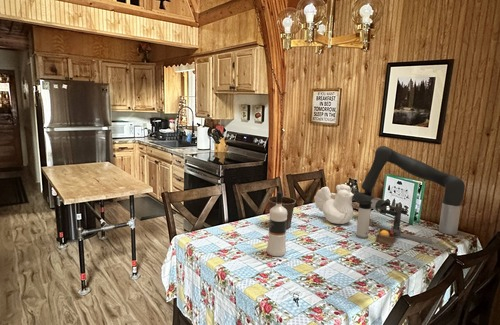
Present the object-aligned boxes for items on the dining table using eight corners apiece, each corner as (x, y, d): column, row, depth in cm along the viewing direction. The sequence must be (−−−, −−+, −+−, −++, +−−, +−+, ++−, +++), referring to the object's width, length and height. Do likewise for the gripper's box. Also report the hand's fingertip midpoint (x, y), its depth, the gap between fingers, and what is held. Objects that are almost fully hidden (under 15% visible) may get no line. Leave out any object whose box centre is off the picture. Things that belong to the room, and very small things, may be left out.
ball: (384, 227, 175) (391, 233, 174) (377, 233, 177) (385, 239, 176) (383, 230, 171) (391, 236, 169) (377, 236, 173) (384, 242, 171)
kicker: (390, 232, 183) (394, 202, 180) (400, 234, 180) (404, 203, 178) (389, 241, 170) (393, 208, 167) (399, 243, 168) (403, 210, 165)
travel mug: (369, 239, 173) (373, 203, 170) (356, 237, 174) (360, 202, 171) (367, 234, 179) (371, 200, 176) (355, 233, 180) (358, 199, 177)
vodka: (282, 258, 146) (286, 195, 141) (263, 254, 150) (266, 193, 145) (288, 250, 155) (291, 191, 150) (270, 247, 158) (273, 188, 153)
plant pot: (298, 225, 190) (300, 199, 188) (287, 233, 177) (288, 205, 174) (274, 219, 199) (276, 194, 196) (261, 227, 185) (263, 200, 183)
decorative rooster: (357, 223, 197) (360, 184, 193) (342, 229, 187) (345, 187, 183) (324, 213, 216) (327, 177, 212) (309, 217, 206) (311, 179, 202)
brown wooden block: (377, 234, 180) (378, 227, 179) (394, 237, 176) (395, 230, 176) (376, 242, 169) (376, 234, 169) (393, 245, 166) (394, 238, 165)
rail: (386, 232, 184) (386, 230, 183) (431, 240, 174) (431, 238, 174) (385, 235, 179) (385, 233, 179) (432, 244, 169) (432, 241, 169)
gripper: (370, 199, 188) (391, 208, 172) (390, 198, 192) (411, 206, 177) (369, 212, 189) (389, 221, 174) (388, 210, 193) (410, 219, 178)
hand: (400, 213), depth 175 cm, fingers open, 8 cm apart
